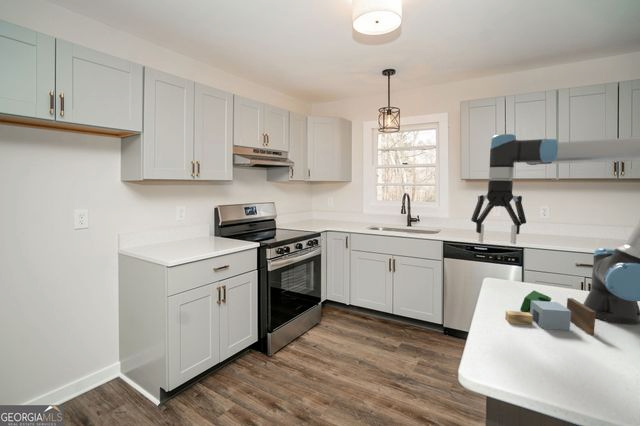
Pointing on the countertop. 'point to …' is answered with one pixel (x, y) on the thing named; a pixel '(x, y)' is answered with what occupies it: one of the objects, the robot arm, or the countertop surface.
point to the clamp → (534, 297)
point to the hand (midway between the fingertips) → (496, 242)
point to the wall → (581, 316)
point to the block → (550, 315)
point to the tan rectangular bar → (519, 317)
